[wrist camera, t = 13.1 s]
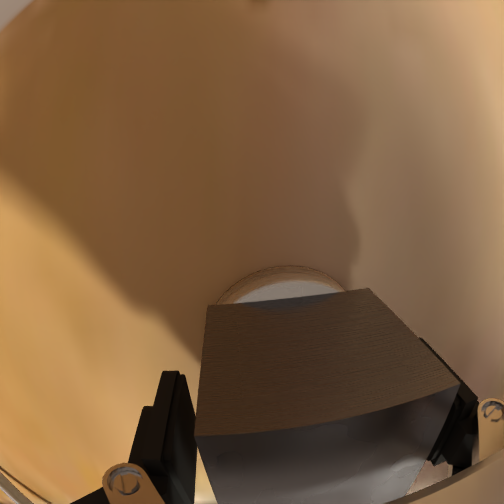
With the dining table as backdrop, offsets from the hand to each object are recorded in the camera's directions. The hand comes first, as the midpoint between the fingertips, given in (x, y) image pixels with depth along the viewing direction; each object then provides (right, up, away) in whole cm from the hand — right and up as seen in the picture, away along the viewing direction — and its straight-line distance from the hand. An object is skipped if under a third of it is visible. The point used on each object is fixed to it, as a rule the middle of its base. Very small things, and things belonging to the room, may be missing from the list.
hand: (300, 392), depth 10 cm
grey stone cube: (0, +1, +2) cm, 2 cm away
